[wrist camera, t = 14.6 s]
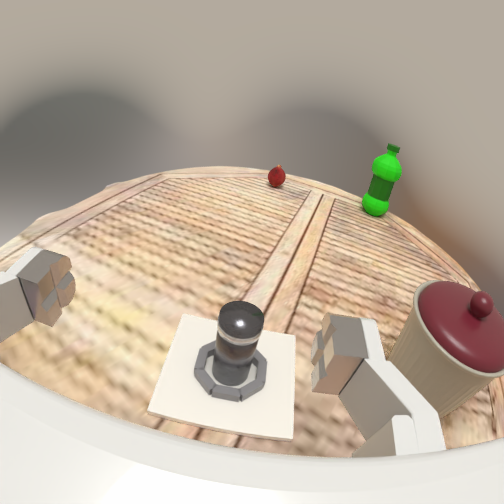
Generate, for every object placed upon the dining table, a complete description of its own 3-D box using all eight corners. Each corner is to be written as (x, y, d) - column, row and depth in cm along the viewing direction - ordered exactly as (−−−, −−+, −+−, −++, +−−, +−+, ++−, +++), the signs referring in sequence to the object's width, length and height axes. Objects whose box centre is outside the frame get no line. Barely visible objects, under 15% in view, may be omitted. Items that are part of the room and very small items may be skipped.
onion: (277, 191, 100) (282, 169, 96) (262, 185, 102) (267, 163, 98) (285, 188, 104) (290, 166, 100) (271, 182, 107) (276, 161, 102)
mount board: (147, 413, 33) (145, 405, 31) (183, 317, 48) (183, 306, 46) (290, 441, 33) (296, 434, 31) (293, 339, 48) (297, 329, 47)
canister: (406, 463, 30) (514, 372, 19) (340, 374, 43) (403, 262, 32) (467, 407, 38) (544, 319, 26) (409, 341, 51) (465, 247, 39)
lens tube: (207, 382, 38) (214, 328, 32) (215, 353, 42) (223, 296, 36) (246, 390, 38) (263, 337, 32) (251, 360, 42) (266, 305, 36)
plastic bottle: (379, 222, 95) (404, 151, 81) (353, 208, 100) (374, 139, 87) (389, 216, 102) (412, 151, 88) (365, 203, 107) (385, 140, 94)
